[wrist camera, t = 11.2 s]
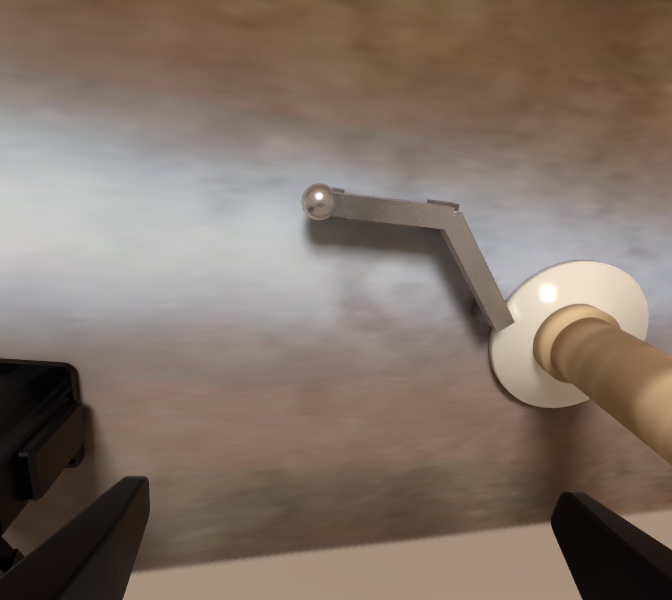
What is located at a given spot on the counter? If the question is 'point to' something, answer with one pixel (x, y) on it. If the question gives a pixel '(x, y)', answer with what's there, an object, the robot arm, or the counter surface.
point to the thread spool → (610, 370)
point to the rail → (433, 214)
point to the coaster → (541, 301)
